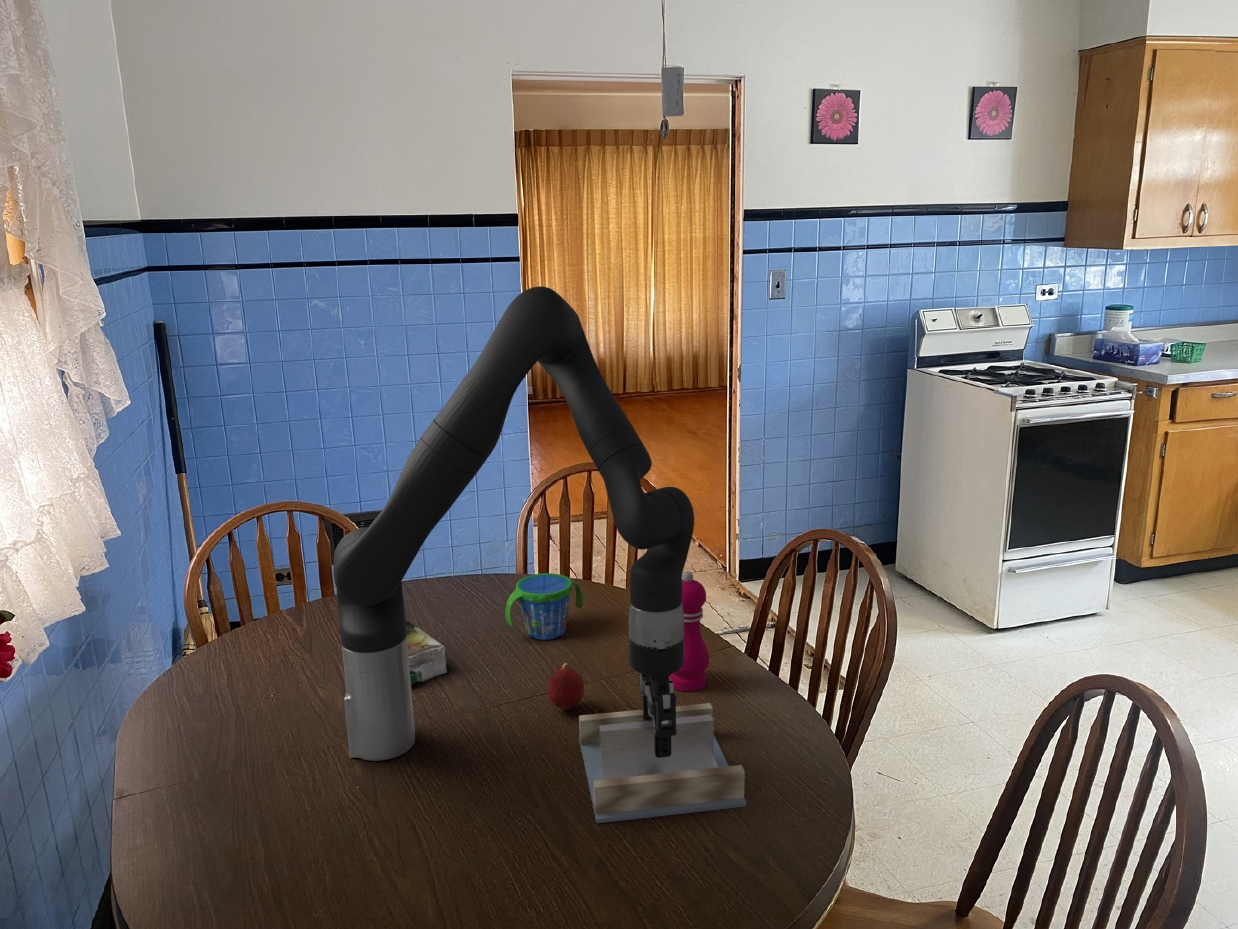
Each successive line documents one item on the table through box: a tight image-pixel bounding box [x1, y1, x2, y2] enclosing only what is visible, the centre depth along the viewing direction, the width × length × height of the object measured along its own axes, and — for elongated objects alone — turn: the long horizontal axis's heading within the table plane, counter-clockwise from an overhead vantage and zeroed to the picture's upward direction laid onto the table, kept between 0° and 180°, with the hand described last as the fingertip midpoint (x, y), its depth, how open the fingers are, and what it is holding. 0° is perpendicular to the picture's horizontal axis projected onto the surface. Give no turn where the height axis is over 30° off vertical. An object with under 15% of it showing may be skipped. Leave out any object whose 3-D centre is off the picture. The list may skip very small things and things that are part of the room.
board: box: [578, 735, 747, 824], centre depth 127 cm, size 20×20×1 cm
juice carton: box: [406, 620, 448, 686], centre depth 160 cm, size 20×10×6 cm, turn 42°
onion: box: [547, 662, 585, 711], centre depth 143 cm, size 6×6×8 cm
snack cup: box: [504, 572, 584, 641], centre depth 170 cm, size 16×10×10 cm
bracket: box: [599, 715, 718, 780], centre depth 124 cm, size 16×6×7 cm, turn 99°
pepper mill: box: [669, 571, 710, 693], centre depth 149 cm, size 7×7×20 cm
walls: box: [578, 702, 746, 815], centre depth 127 cm, size 20×18×4 cm
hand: (656, 739), depth 126 cm, fingers open, 8 cm apart
